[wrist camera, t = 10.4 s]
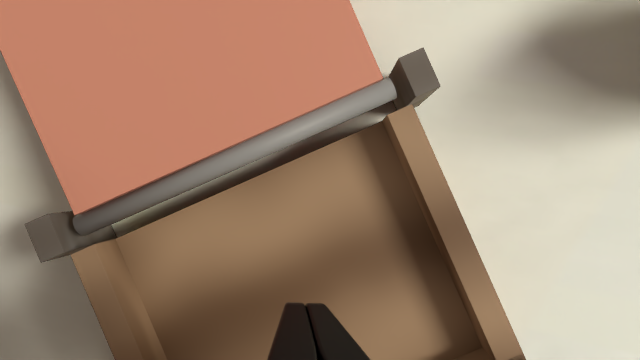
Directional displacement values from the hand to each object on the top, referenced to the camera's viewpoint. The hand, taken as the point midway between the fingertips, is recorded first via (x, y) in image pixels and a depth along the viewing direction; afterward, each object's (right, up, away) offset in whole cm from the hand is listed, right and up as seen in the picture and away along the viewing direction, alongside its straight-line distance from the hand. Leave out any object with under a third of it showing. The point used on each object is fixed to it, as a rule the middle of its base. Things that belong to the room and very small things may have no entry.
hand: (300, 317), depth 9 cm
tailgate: (-3, +4, +8) cm, 9 cm away
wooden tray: (-1, -1, +10) cm, 11 cm away
